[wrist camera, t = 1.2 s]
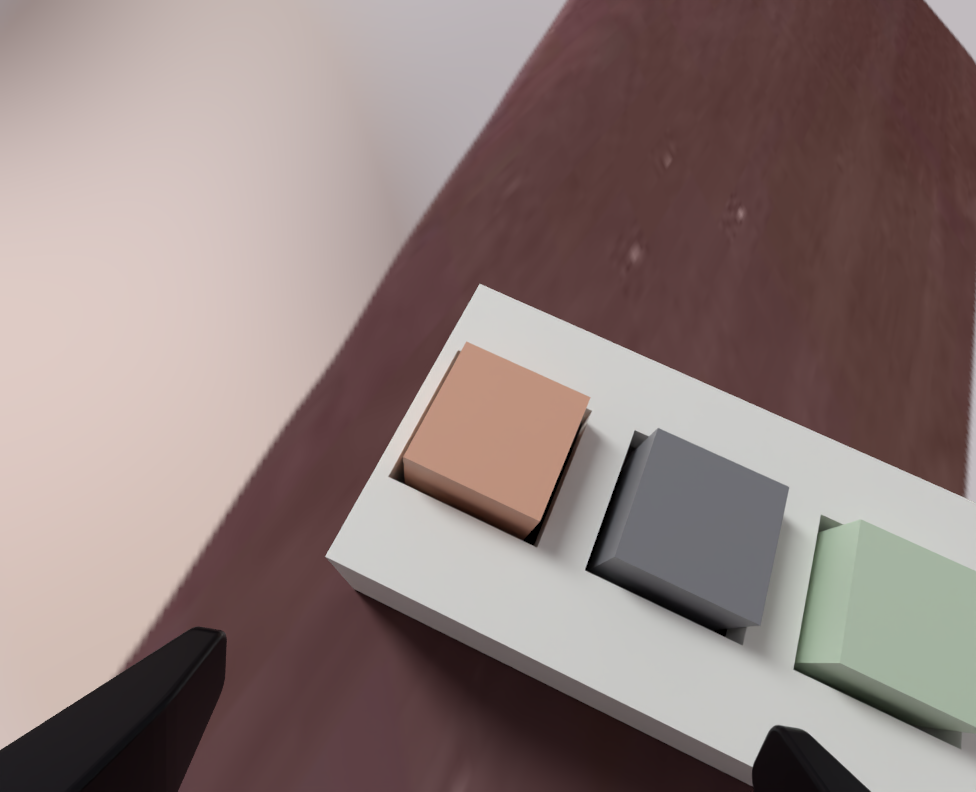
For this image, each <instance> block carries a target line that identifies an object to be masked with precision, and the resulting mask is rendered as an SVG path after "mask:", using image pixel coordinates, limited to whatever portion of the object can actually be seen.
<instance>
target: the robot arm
mask: <svg viewBox="0 0 976 792" xmlns="http://www.w3.org/2000/svg"><path fill="white" fill-rule="evenodd" d="M226 644H227V638H226V634H225V633H224V632H223V631H221V630H216V629H210V628H205V627H194V628H191V629H190V630H188V631H186V632H185V633H183V634H182V635H180V636H178V637H177V638H175V639H174V640H172V641H171V642H169V643H167V644H166V645H164V646H163V647H161V648H160V649H158V650H157V651H155V652H153V653H152V654H150V655H149V656H147V657H146V658H144V659H142V660H141V661H139V662H138V663H136V664H135V665H133V666H131V667H130V668H128V669H127V670H125V671H124V672H122V673H120V674H119V675H117V676H116V677H114V678H113V679H111V680H109V681H108V682H106V683H105V684H103V685H102V686H100V687H99V688H97V689H95V690H94V691H92V692H91V693H89V694H88V695H86V696H84V697H83V698H81V699H80V700H78V701H77V702H75V703H74V704H72V705H70V706H69V707H67V708H66V709H64V710H62V711H61V712H59V713H58V714H56V715H55V716H53V717H51V718H50V719H48V720H47V721H45V722H44V723H42V724H41V725H39V726H38V727H36V728H34V729H33V730H31V731H30V732H28V733H26V734H25V735H24V736H22V737H20V738H19V739H17V740H16V741H14V742H12V743H11V744H9V745H8V746H6V747H4V748H3V749H1V750H0V792H178V790H179V788H180V785H181V783H182V781H183V779H184V776H185V774H186V772H187V769H188V767H189V765H190V763H191V760H192V758H193V756H194V754H195V751H196V749H197V747H198V744H199V742H200V740H201V738H202V735H203V733H204V731H205V728H206V726H207V724H208V722H209V719H210V717H211V715H212V713H213V710H214V708H215V706H216V703H217V701H218V699H219V697H220V694H221V691H222V688H223V685H224V680H225V668H226ZM752 783H753V788H754V792H871V791H870V790H869V789H868V788H867V787H866V786H865V785H863V784H862V783H861V782H860V781H859V780H858V779H857V778H856V777H855V776H854V775H853V774H852V773H851V772H850V771H849V770H847V769H846V768H845V767H844V766H843V765H842V764H841V763H840V762H839V761H838V760H837V759H836V758H835V757H834V756H833V755H831V754H830V753H829V752H828V751H827V750H826V749H825V748H824V747H823V746H822V745H821V744H820V743H819V742H818V741H817V740H815V739H814V738H813V737H812V736H811V735H810V734H809V733H808V732H806V731H805V730H802V729H800V728H794V727H788V726H782V725H775V726H773V727H772V728H770V730H769V732H768V734H767V736H766V738H765V740H764V742H763V744H762V746H761V749H760V751H759V753H758V755H757V757H756V759H755V761H754V764H753V768H752Z"/></svg>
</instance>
